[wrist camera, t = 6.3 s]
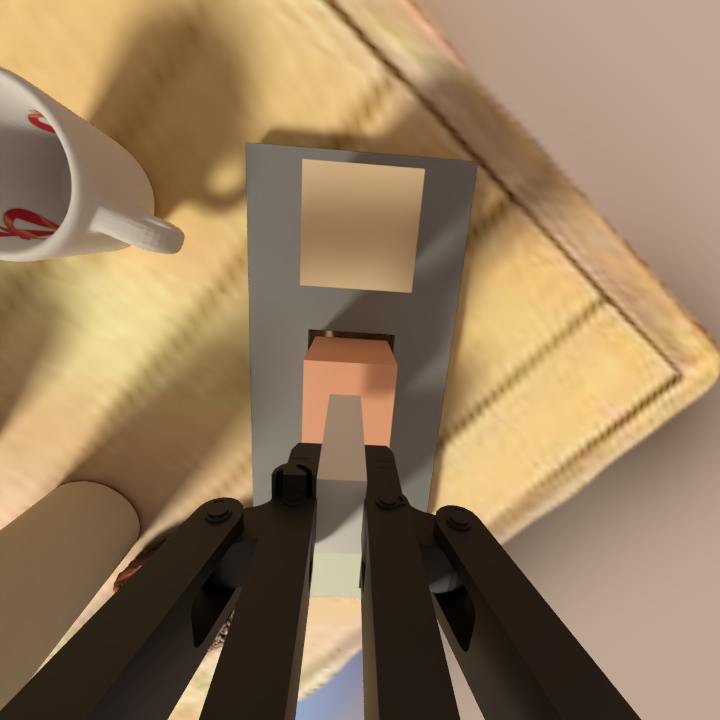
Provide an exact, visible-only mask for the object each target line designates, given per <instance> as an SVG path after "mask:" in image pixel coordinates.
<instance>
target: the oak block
mask: <svg viewBox="0 0 720 720" xmlns="http://www.w3.org/2000/svg"><path fill="white" fill-rule="evenodd" d="M424 174H425V169H420V168H407V167H395V166H383V165H371V164H359V163H346V162H334V161H322V160H310V159H302V204H301V256H300V285H305V286H320V287H334V288H349V289H363V290H378V291H393V292H407V293H412V285H413V275H414V266H415V257H416V248H417V239H418V229H419V220H420V211H421V202H422V193H423V183H424Z"/></svg>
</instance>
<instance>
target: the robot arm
mask: <svg viewBox="0 0 720 720" xmlns="http://www.w3.org/2000/svg"><path fill="white" fill-rule="evenodd" d="M271 479H272V498H271V500H270V501H268V502H266V503H264V504H262V505H259V506H255V507H250V508H245V509H243V505H242V504H241V503H240V502H239V501H238V500H235V499H233V498H224V497H223V498H217V499H213V500H211V501H208V502H206V503H204V504H203V505H201V506H200V507H199V508H198V509H197V510H196V511H195V512H194V513H193V514H192V515H191V516H190V517H189V518H188V519H187V520H186V521H185V522H184V523H183V524H182V525H181V526H180V527H179V528H178V529H177V530H176V531H175V532H174V533H173V534H172V535H171V536H170V537H169V538H168V539H167V540H166V541H165V542H164V543H163V544H162V545H161V546H160V547H159V549H158V550H157V551H156V552H155V553H154V554H153V555H152V556H151V557H150V558H149V559H148V560H147V561H146V562H145V563H144V564H143V565H142V566H141V567H140V568H139V569H138V570H137V571H136V572H135V573H134V574H133V575H132V576H131V577H130V578H129V579H128V580H127V581H126V582H125V583H124V584H123V585H122V586H121V587H120V589H119V590H118V591H117V592H116V593H115V594H114V595H113V596H112V597H111V598H110V599H109V600H108V601H107V602H106V603H105V604H104V605H103V606H102V607H101V608H100V609H99V610H98V611H97V612H96V613H95V614H94V615H93V616H92V617H91V618H90V619H89V620H88V621H87V622H86V623H85V624H84V625H83V626H82V627H81V628H80V630H79V631H78V632H77V633H76V634H75V635H74V636H73V637H72V638H71V639H70V640H69V641H68V642H67V643H66V644H65V645H64V646H63V647H62V648H61V649H60V650H59V651H58V652H57V653H56V654H55V655H54V656H53V657H52V658H51V659H50V660H49V661H48V662H47V663H46V664H45V665H44V666H43V667H42V668H41V670H40V671H39V672H38V673H37V674H36V675H35V676H34V677H33V678H32V679H31V680H30V681H29V682H28V683H27V684H26V685H25V686H24V687H23V688H22V689H21V690H20V691H19V692H18V693H17V694H16V695H15V696H14V697H13V698H12V699H11V700H10V701H9V702H8V703H7V704H6V705H5V706H4V707H3V708H2V709H1V711H0V720H167V719H168V718H169V716H170V714H171V713H172V711H173V709H174V707H175V706H176V704H177V702H178V701H179V699H180V697H181V696H182V694H183V692H184V691H185V689H186V687H187V685H188V684H189V682H190V680H191V679H192V677H193V675H194V674H195V672H196V670H197V668H198V667H199V665H200V663H201V662H202V660H203V658H204V657H205V655H206V653H207V652H208V650H209V648H210V646H211V645H212V643H213V641H214V640H215V638H216V636H217V635H218V633H219V631H220V629H221V628H222V626H223V624H224V623H225V621H226V619H227V618H228V616H229V614H230V612H231V611H232V609H233V607H234V606H235V604H236V602H237V601H238V602H237V605H236V608H235V611H234V614H233V617H232V620H231V623H230V626H229V629H228V632H227V636H226V639H225V642H224V645H223V648H222V651H221V654H220V657H219V660H218V663H217V666H216V669H215V672H214V675H213V678H212V681H211V684H210V688H209V691H208V694H207V697H206V700H205V703H204V706H203V709H202V712H201V715H200V718H199V720H295V716H296V706H297V699H298V691H299V682H300V674H301V665H302V657H303V648H304V640H305V632H306V623H307V615H308V606H309V598H310V589H311V581H312V573H313V557H314V553H342V554H361V553H362V556H361V567H360V578H359V588H361V611H362V648H363V683H364V716H365V717H364V718H365V719H364V720H460V716H459V712H458V708H457V704H456V700H455V695H454V691H453V687H452V682H451V678H450V674H449V669H448V665H447V661H446V657H445V652H444V648H443V644H442V640H441V635H440V631H439V627H438V623H437V619H438V621H439V623H440V625H441V627H442V630H443V632H444V634H445V636H446V638H447V640H448V642H449V645H450V647H451V649H452V651H453V653H454V655H455V657H456V659H457V661H458V664H459V666H460V668H461V670H462V672H463V674H464V676H465V678H466V680H467V683H468V685H469V687H470V689H471V691H472V693H473V695H474V697H475V700H476V702H477V704H478V706H479V708H480V710H481V712H482V714H483V717H484V718H485V720H641V719H640V718H639V716H638V715H637V714H636V713H635V711H634V710H633V709H632V708H631V706H630V705H629V704H628V703H627V702H626V700H625V699H624V698H623V697H622V695H621V694H620V693H619V692H618V690H617V689H616V688H615V687H614V686H613V684H612V683H611V682H610V681H609V679H608V678H607V677H606V675H605V674H604V673H603V672H602V671H601V669H600V668H599V667H598V666H597V664H596V663H595V662H594V661H593V659H592V658H591V657H590V656H589V654H588V653H587V652H586V651H585V649H584V648H583V647H582V646H581V644H580V643H579V642H578V641H577V639H576V638H575V637H574V636H573V635H572V633H571V632H570V631H569V630H568V628H567V627H566V626H565V625H564V623H563V622H562V621H561V620H560V618H559V617H558V616H557V615H556V613H555V612H554V611H553V610H552V609H551V608H550V606H549V605H548V604H547V602H546V601H545V600H544V599H543V598H542V596H541V595H540V594H539V592H538V591H537V590H536V589H535V587H534V586H533V585H532V584H531V582H530V581H529V580H528V579H527V577H526V576H525V575H524V574H523V572H522V571H521V570H520V569H519V568H518V566H517V565H516V564H515V563H514V561H513V560H512V559H511V558H510V556H509V555H508V554H507V553H506V551H505V550H504V549H503V548H502V546H501V545H500V544H499V543H498V541H497V540H496V539H495V538H494V537H493V535H492V534H491V533H490V532H489V530H488V529H487V528H486V527H485V525H484V524H483V523H482V522H481V520H480V519H479V518H478V517H477V516H476V515H475V514H474V513H473V512H471V511H469V510H467V509H465V508H463V507H459V506H454V505H447V506H444V507H441V508H440V509H439V510H438V511H437V512H436V515H433V514H430V513H426V512H423V511H420V510H417V509H416V508H414V507H412V506H411V505H410V503H409V501H408V499H407V497H406V496H405V495H403V494H402V490H401V485H400V481H399V476H398V472H397V467H396V463H395V458H394V453H393V452H392V451H391V450H390V449H389V448H388V446H382V445H364V431H363V417H362V404H361V396H355V395H337V394H330V396H329V403H328V409H327V415H326V422H325V428H324V435H323V441H322V444H320V443H298V444H297V445H296V446H295V447H293V448H292V449H291V453H290V456H289V459H288V462H287V463H286V464H282V465H280V466H279V467H277V468H275V470H274V471H273V472H272V474H271ZM436 617H437V618H436Z"/></svg>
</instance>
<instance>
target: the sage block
mask: <svg viewBox="0 0 720 720" xmlns="http://www.w3.org/2000/svg"><path fill="white" fill-rule="evenodd" d="M361 556H362V553H361V554H342V553H314V557H313V573H312V581H311V589H310V597H331V598H359V599H361V588H359V578H360V567H361Z"/></svg>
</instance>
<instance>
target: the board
mask: <svg viewBox="0 0 720 720" xmlns="http://www.w3.org/2000/svg"><path fill="white" fill-rule="evenodd" d="M302 159H310V160H322V161H334V162H346V163H359V164H371V165H383V166H395V167H407V168H420V169H425V174H424V183H423V193H422V202H421V211H420V220H419V229H418V239H417V248H416V257H415V266H414V275H413V285H412V293H407V292H393V291H378V290H363V289H349V288H334V287H320V286H305V285H300V256H301V204H302ZM477 166H478V162H476V161H464V160H452V159H440V158H428V157H416V156H404V155H392V154H380V153H368V152H356V151H344V150H332V149H320V148H308V147H296V146H284V145H272V144H260V143H248V142H246V188H247V235H248V282H249V328H250V375H251V421H252V468H253V507H255V506H259V505H262V504H264V503H266V502H268V501H270V500H271V498H272V479H271V474H272V472H273V471H274V470H275V468H277V467H279V466H280V465H282V464H286V463H287V462H288V459H289V456H290V453H291V449H292V448H293V447H295V446H296V445H297V444H298V443H302V409H303V367H304V358H305V356H306V354H307V352H308V350H309V348H310V345H311V329H313V330H328V331H344V332H360V333H375V334H391V335H392V342H391V351H392V353H393V356H394V358H395V360H396V363H397V365H398V368H397V378H396V387H395V397H394V407H393V416H392V426H391V436H390V445H389V449H390V450H391V451H392V452H393V453H394V458H395V463H396V467H397V472H398V476H399V481H400V485H401V490H402V494H403V495H405V496H406V497H407V499H408V501H409V503H410V505H411V506H412V507H414V508H416V509H417V510H420V511H423V512H426V513H427V507H428V501H429V494H430V487H431V480H432V473H433V467H434V460H435V453H436V446H437V439H438V432H439V426H440V419H441V412H442V405H443V398H444V391H445V385H446V378H447V371H448V364H449V357H450V351H451V344H452V337H453V330H454V323H455V316H456V310H457V303H458V296H459V289H460V282H461V275H462V269H463V262H464V255H465V248H466V241H467V234H468V228H469V221H470V214H471V207H472V200H473V194H474V187H475V180H476V173H477Z"/></svg>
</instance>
